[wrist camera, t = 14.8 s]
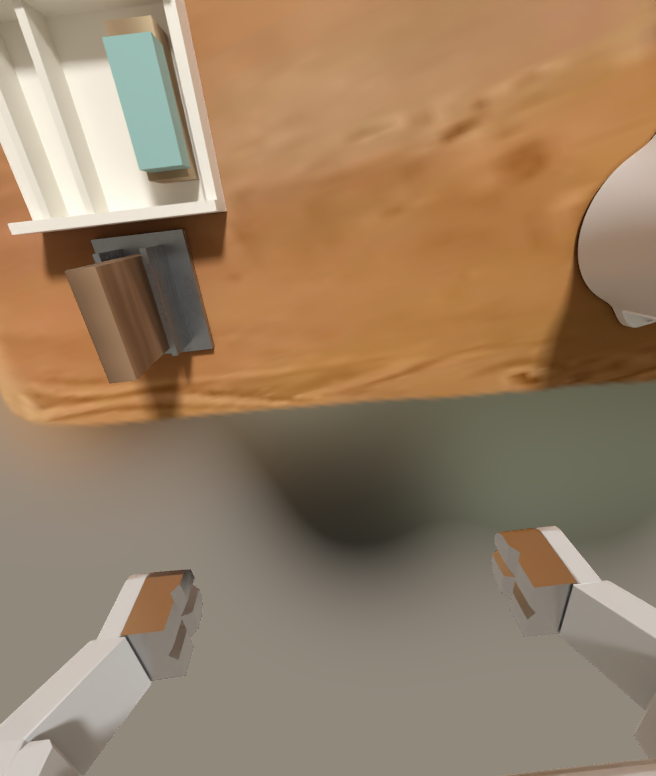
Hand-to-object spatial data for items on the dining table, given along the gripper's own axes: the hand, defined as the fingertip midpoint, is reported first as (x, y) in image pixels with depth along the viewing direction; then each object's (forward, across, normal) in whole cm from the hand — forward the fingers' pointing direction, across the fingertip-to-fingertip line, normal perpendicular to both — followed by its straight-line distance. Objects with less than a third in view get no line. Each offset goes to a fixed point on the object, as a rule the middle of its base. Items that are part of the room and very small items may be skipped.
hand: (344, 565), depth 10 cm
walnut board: (+28, +15, -3) cm, 32 cm away
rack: (+29, +15, -16) cm, 37 cm away
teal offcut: (+25, +10, -16) cm, 31 cm away
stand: (+29, +15, -3) cm, 33 cm away
